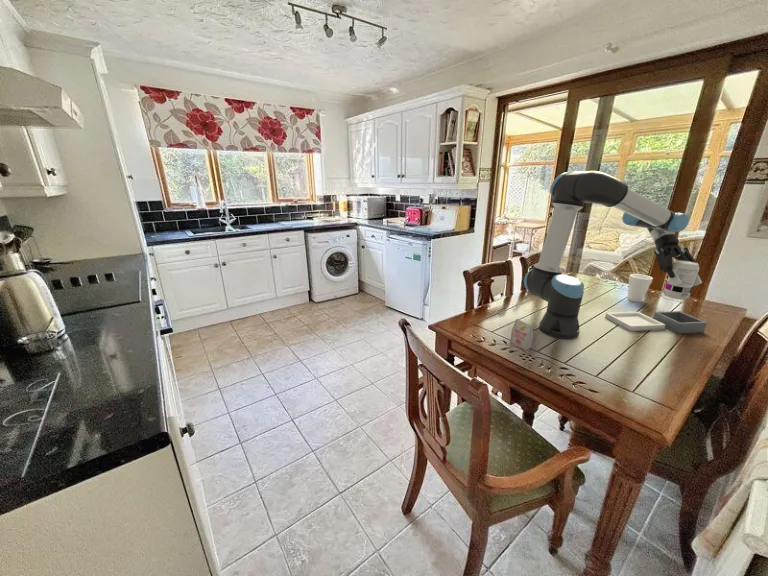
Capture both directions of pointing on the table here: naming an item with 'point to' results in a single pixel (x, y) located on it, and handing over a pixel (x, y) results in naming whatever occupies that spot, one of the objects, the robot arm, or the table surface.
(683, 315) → the grey open square box
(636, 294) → the foam cup
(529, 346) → the white paper packet
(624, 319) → the tray
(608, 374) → the table surface
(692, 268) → the supplement can
